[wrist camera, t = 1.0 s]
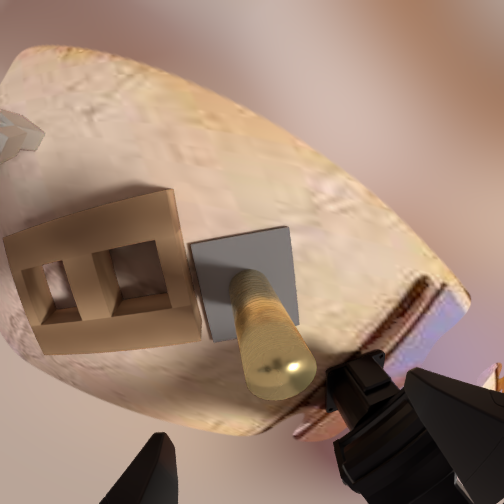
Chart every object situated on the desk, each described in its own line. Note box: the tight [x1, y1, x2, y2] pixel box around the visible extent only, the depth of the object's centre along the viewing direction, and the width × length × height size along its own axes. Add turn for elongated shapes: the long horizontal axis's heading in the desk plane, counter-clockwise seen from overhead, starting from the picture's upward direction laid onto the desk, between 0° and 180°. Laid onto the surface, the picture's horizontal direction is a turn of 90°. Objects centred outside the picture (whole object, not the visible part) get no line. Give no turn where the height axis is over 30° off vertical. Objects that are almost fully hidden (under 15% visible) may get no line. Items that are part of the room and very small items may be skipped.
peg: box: [229, 269, 317, 401], centre depth 15 cm, size 3×3×10 cm
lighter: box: [0, 109, 45, 164], centre depth 11 cm, size 7×2×8 cm, turn 53°
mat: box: [191, 227, 299, 342], centre depth 20 cm, size 8×7×1 cm
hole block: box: [3, 189, 202, 355], centre depth 17 cm, size 10×14×3 cm
